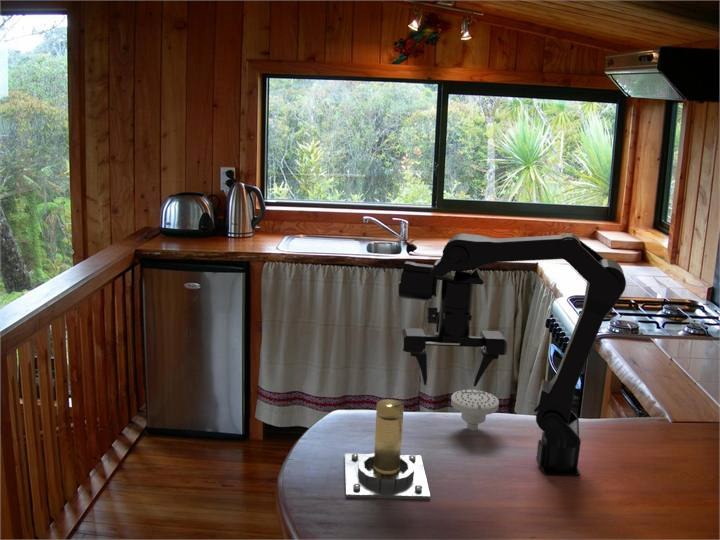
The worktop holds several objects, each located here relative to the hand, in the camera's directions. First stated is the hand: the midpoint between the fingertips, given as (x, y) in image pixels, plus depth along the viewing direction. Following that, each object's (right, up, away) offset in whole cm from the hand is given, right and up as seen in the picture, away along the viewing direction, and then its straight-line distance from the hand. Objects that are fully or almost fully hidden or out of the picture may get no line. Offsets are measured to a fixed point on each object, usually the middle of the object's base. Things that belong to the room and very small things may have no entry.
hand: (449, 384), depth 142 cm
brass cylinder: (-12, -14, -8) cm, 20 cm away
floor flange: (-12, -15, -8) cm, 21 cm away
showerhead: (+6, -11, +12) cm, 17 cm away
